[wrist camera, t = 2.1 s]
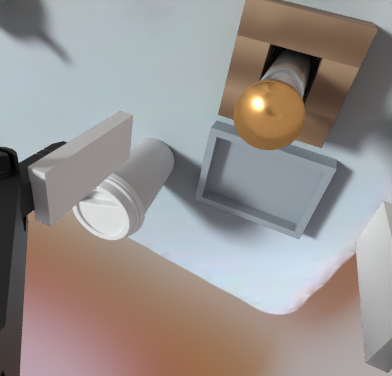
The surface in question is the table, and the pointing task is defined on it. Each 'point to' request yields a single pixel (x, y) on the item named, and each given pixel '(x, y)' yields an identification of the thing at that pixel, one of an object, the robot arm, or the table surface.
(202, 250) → the table surface
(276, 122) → the hitch pin
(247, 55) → the socket block
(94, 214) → the coffee cup
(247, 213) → the tray
